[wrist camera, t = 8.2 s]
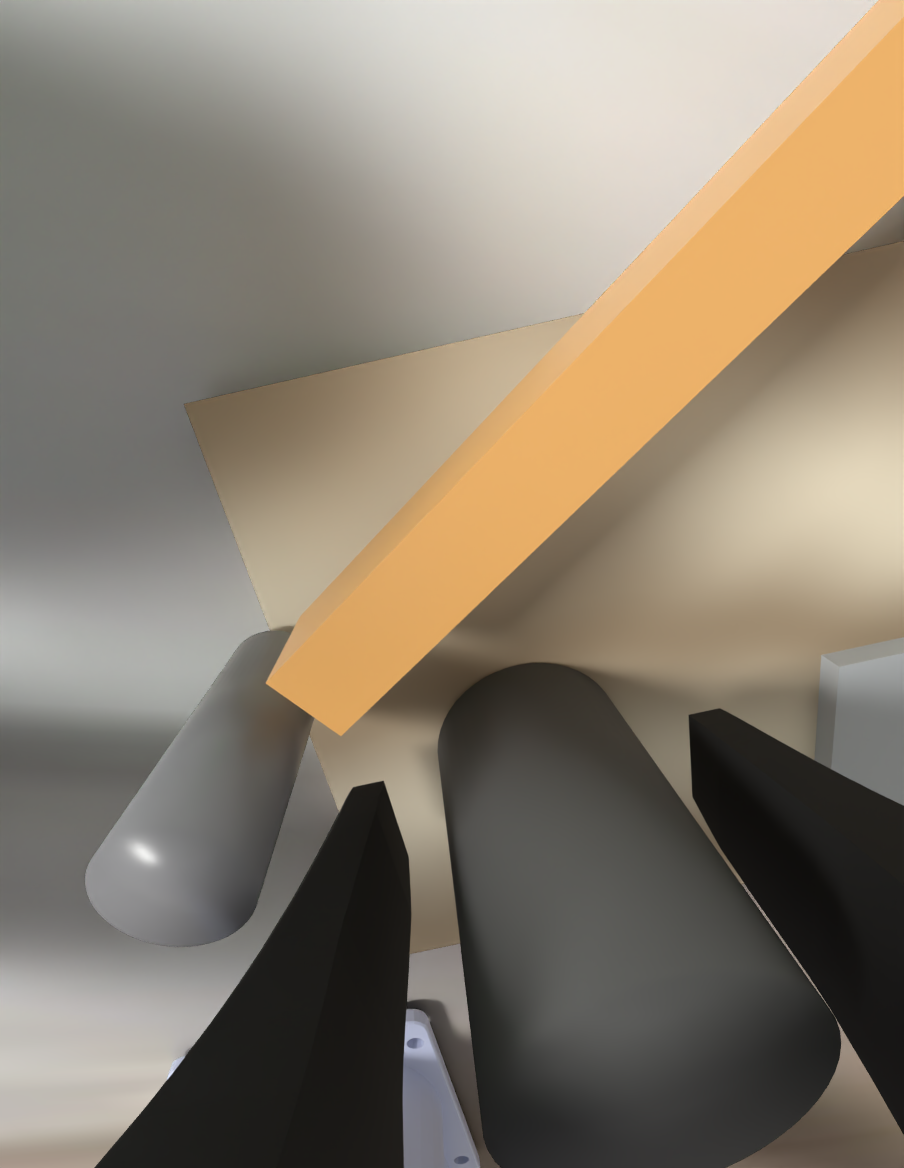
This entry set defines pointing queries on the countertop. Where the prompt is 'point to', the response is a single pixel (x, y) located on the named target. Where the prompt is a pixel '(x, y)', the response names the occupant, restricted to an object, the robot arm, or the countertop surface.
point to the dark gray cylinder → (611, 946)
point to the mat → (864, 716)
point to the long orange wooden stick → (510, 487)
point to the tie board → (600, 539)
